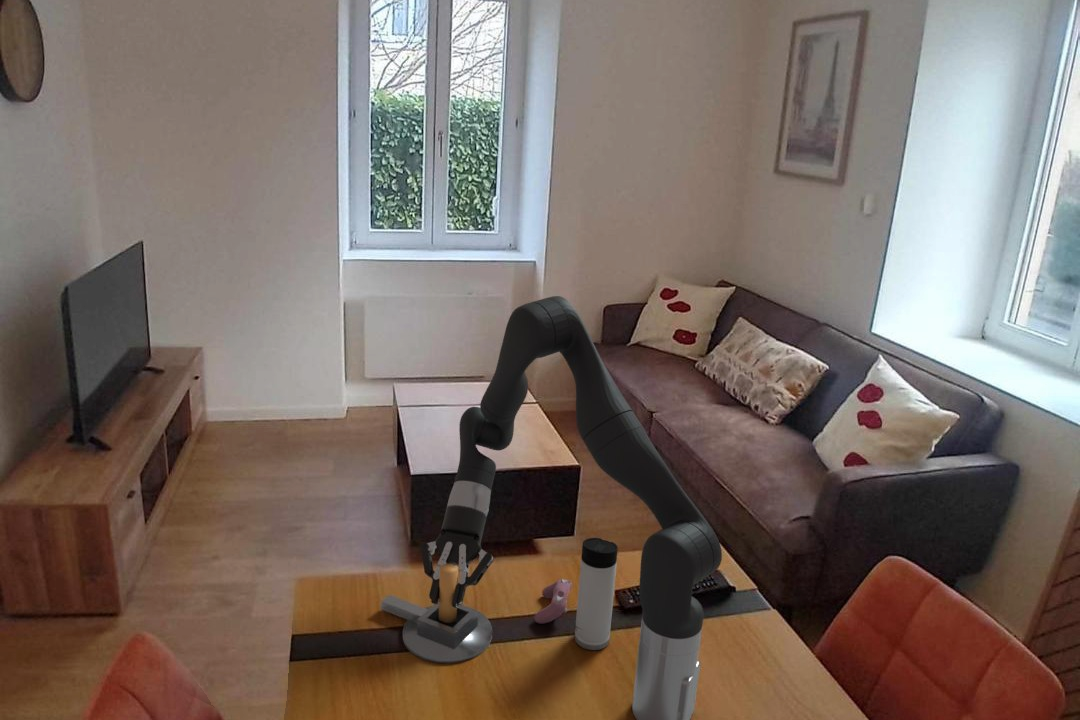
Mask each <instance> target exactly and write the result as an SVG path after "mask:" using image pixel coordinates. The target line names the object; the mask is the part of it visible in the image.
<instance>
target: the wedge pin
mask: <svg viewBox="0 0 1080 720" xmlns="http://www.w3.org/2000/svg"><path fill="white" fill-rule="evenodd" d="M458 582H459V566H457V565H454V564H444V565H442V566H441V567H440V578H439V600H438V601H439V620H440V621H442V622H445V623H450V622H453V621H455V620H456V618H457V608H454V607H453V606H452V601H453V597H454V593H455V588H456V585H457V584H458Z"/></svg>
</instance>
